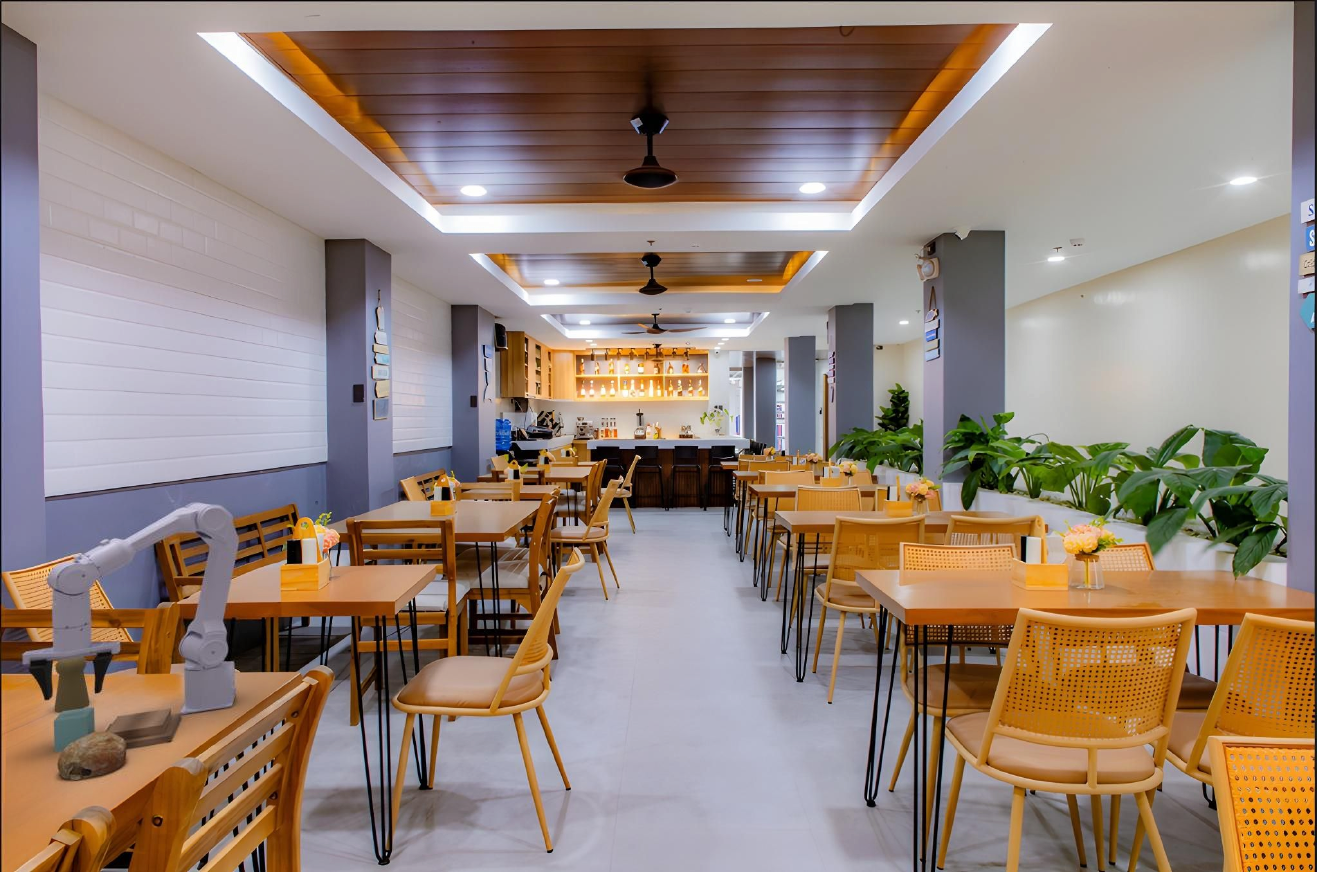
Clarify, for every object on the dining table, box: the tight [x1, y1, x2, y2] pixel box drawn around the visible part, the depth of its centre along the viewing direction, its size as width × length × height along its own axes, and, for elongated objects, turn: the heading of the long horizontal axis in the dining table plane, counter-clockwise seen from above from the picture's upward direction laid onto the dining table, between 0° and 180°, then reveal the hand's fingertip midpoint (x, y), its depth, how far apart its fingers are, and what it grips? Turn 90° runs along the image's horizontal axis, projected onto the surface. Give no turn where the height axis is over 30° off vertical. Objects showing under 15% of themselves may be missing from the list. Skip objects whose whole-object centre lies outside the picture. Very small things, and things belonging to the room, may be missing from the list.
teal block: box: [53, 706, 96, 753], centre depth 139 cm, size 5×5×6 cm
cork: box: [54, 656, 91, 714], centre depth 157 cm, size 6×6×11 cm
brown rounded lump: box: [57, 731, 127, 782], centre depth 129 cm, size 10×10×8 cm
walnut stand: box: [104, 707, 182, 750], centre depth 142 cm, size 12×12×3 cm
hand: (73, 695), depth 139 cm, fingers open, 7 cm apart
